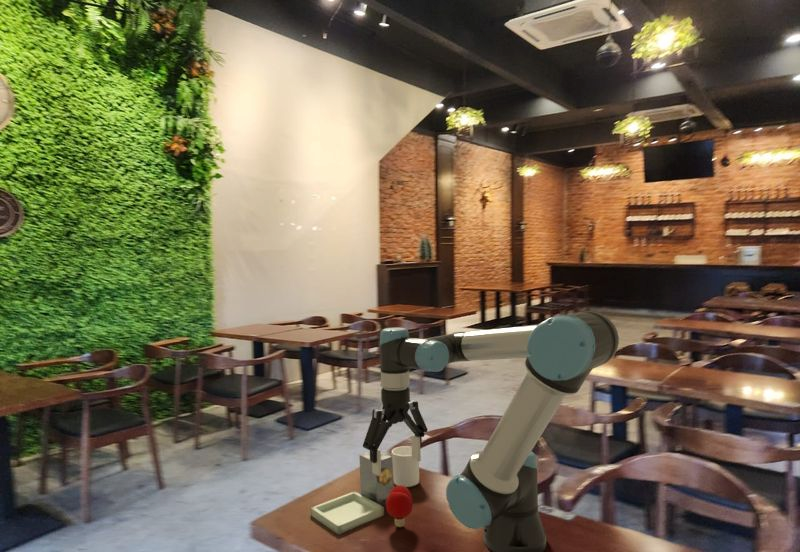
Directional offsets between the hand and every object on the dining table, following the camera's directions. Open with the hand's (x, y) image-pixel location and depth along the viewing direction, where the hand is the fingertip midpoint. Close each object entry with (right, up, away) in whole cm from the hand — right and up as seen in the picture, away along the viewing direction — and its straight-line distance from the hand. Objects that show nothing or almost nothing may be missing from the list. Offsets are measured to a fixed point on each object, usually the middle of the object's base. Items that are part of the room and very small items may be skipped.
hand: (397, 466), depth 135 cm
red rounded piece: (+1, -16, 0) cm, 16 cm away
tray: (-14, -16, +7) cm, 23 cm away
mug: (+3, -16, +28) cm, 32 cm away
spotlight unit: (-6, -16, +17) cm, 24 cm away
